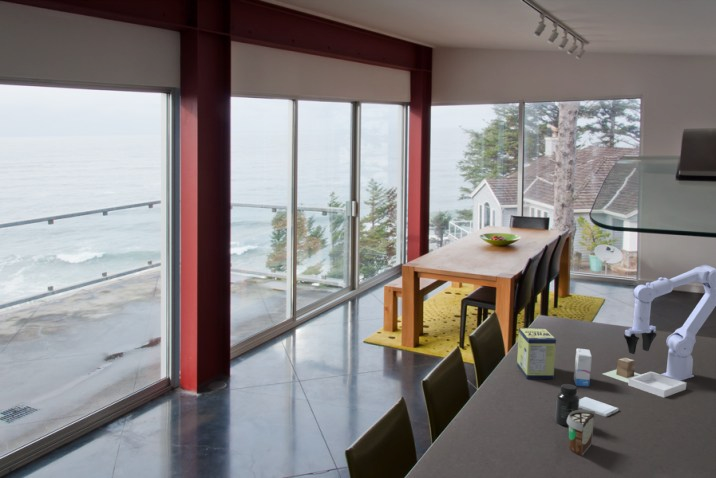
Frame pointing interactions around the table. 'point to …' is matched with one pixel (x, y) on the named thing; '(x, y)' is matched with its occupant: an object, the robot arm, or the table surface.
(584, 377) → the ink box
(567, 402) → the supplement bottle
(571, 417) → the food container
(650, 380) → the grey bin
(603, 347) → the table surface
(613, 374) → the sage pad
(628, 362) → the walnut block
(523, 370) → the protein box
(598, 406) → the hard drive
